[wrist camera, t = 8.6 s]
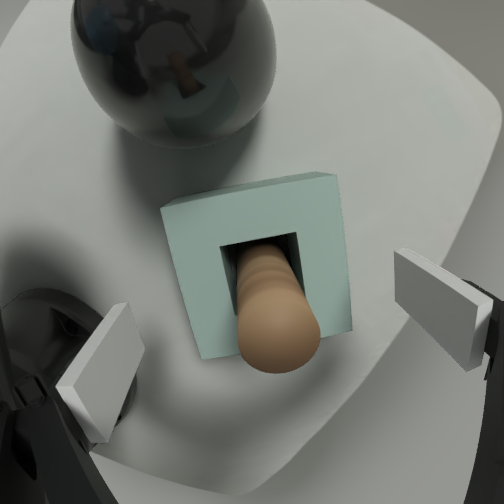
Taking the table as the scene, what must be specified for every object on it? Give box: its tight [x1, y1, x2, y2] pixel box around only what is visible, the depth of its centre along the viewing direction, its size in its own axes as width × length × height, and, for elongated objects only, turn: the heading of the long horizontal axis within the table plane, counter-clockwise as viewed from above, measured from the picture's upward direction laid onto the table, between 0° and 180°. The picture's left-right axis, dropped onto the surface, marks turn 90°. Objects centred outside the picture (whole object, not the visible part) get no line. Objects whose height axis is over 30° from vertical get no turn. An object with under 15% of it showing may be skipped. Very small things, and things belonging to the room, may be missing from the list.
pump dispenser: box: [70, 0, 276, 149], centre depth 13 cm, size 10×10×15 cm
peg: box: [237, 236, 321, 374], centre depth 18 cm, size 3×3×12 cm
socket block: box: [160, 172, 352, 360], centre depth 21 cm, size 10×10×5 cm
